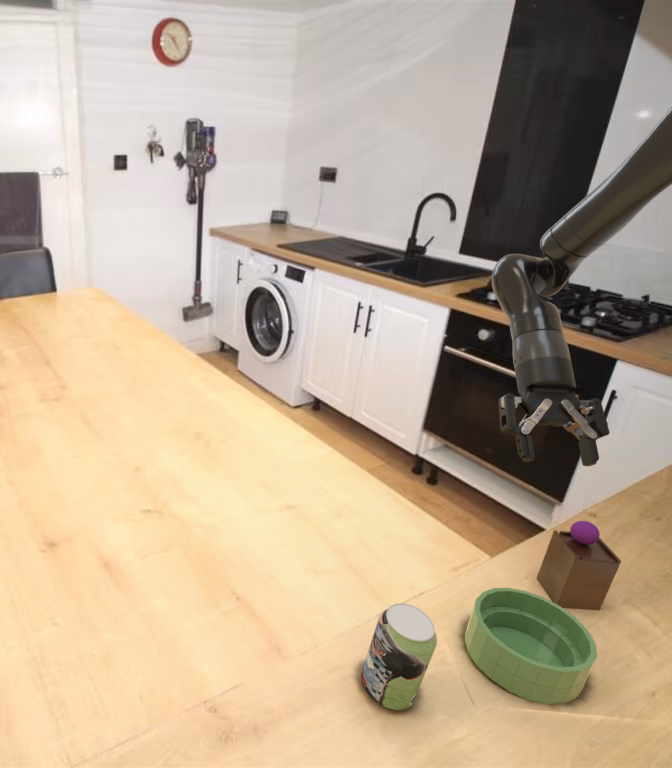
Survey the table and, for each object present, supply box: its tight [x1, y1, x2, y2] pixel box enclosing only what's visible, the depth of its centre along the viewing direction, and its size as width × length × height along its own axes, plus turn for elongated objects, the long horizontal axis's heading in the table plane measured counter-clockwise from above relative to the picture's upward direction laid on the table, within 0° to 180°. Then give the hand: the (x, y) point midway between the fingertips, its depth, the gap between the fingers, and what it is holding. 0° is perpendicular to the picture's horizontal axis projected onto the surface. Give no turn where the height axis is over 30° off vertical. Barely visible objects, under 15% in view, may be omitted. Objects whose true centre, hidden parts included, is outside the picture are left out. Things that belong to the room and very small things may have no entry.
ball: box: [569, 520, 600, 545], centre depth 75 cm, size 3×3×3 cm
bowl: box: [464, 587, 598, 705], centre depth 66 cm, size 12×12×6 cm
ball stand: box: [536, 529, 622, 611], centre depth 76 cm, size 6×6×9 cm
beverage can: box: [360, 602, 438, 711], centre depth 61 cm, size 6×7×12 cm
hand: (559, 463), depth 81 cm, fingers open, 8 cm apart
